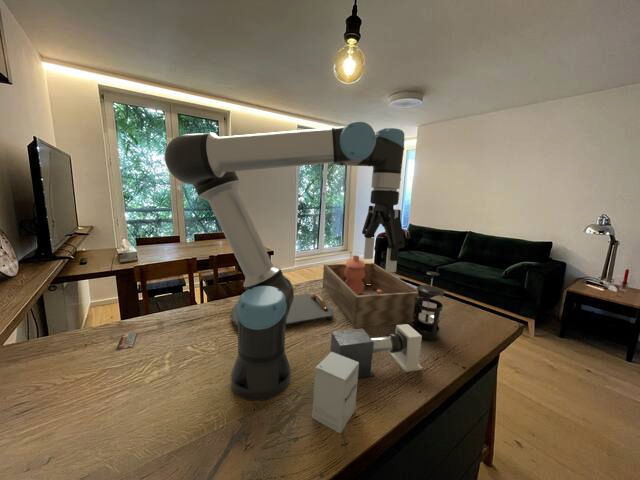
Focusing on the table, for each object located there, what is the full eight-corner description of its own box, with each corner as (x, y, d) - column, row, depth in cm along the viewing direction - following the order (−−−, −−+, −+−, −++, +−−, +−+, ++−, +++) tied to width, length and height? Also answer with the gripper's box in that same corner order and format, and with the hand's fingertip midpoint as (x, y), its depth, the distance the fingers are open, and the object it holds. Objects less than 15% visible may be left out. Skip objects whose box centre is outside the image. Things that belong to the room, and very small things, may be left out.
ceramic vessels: (414, 318, 110) (420, 273, 107) (371, 327, 101) (376, 278, 98) (365, 287, 141) (368, 252, 138) (329, 292, 132) (331, 255, 129)
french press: (446, 340, 94) (455, 277, 90) (423, 344, 92) (431, 278, 87) (424, 324, 105) (432, 266, 101) (403, 326, 103) (409, 267, 98)
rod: (362, 361, 74) (363, 343, 73) (354, 350, 79) (356, 333, 78) (413, 354, 79) (415, 337, 78) (403, 344, 84) (405, 328, 83)
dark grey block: (336, 382, 71) (338, 348, 69) (326, 361, 80) (328, 330, 78) (374, 376, 74) (377, 343, 72) (361, 357, 83) (363, 326, 81)
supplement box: (341, 435, 56) (345, 380, 54) (311, 418, 60) (313, 366, 58) (356, 411, 62) (360, 361, 60) (328, 397, 66) (330, 350, 64)
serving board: (236, 340, 89) (236, 323, 88) (227, 310, 110) (227, 296, 108) (340, 321, 106) (341, 306, 104) (315, 298, 126) (316, 285, 125)
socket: (405, 372, 77) (409, 339, 75) (389, 353, 85) (392, 323, 83) (422, 369, 78) (426, 337, 76) (404, 351, 87) (408, 322, 85)
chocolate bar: (121, 335, 89) (121, 332, 89) (139, 332, 91) (139, 330, 91) (113, 353, 79) (113, 351, 79) (134, 350, 81) (133, 347, 81)
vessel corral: (353, 327, 100) (356, 297, 98) (322, 287, 139) (323, 264, 137) (418, 321, 107) (422, 292, 105) (371, 284, 146) (373, 263, 144)
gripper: (426, 191, 64) (415, 278, 68) (376, 189, 87) (371, 253, 91) (397, 190, 62) (388, 279, 66) (354, 188, 85) (350, 254, 89)
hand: (378, 264), depth 79 cm, fingers open, 13 cm apart
